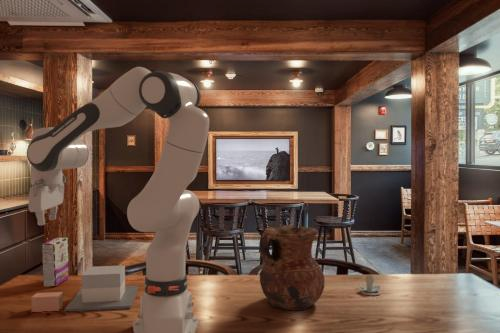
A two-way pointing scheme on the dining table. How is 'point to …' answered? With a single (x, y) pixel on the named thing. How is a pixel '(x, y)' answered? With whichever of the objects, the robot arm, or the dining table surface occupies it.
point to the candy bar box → (55, 261)
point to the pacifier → (370, 287)
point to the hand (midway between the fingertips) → (47, 222)
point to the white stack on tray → (103, 290)
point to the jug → (290, 268)
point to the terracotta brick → (47, 301)
